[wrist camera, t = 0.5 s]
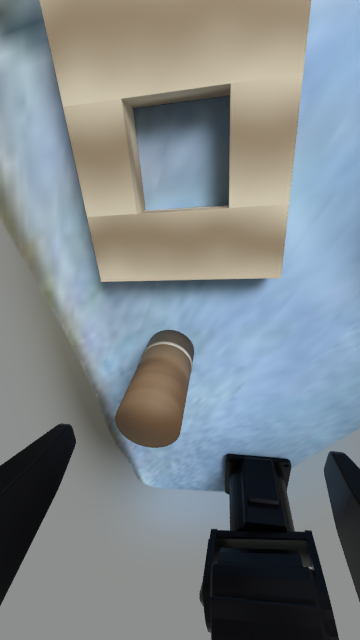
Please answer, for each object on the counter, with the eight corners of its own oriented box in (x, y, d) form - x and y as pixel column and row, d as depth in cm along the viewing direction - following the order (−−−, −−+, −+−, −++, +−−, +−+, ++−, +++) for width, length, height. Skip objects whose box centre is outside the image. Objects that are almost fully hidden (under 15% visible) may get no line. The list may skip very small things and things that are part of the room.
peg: (195, 369, 23) (183, 450, 16) (150, 368, 24) (120, 445, 17) (193, 329, 21) (178, 401, 14) (145, 329, 22) (108, 397, 15)
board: (275, 268, 18) (281, 278, 16) (111, 272, 20) (101, 281, 18) (304, -35, 12) (319, -73, 10) (61, 14, 14) (37, -10, 12)
